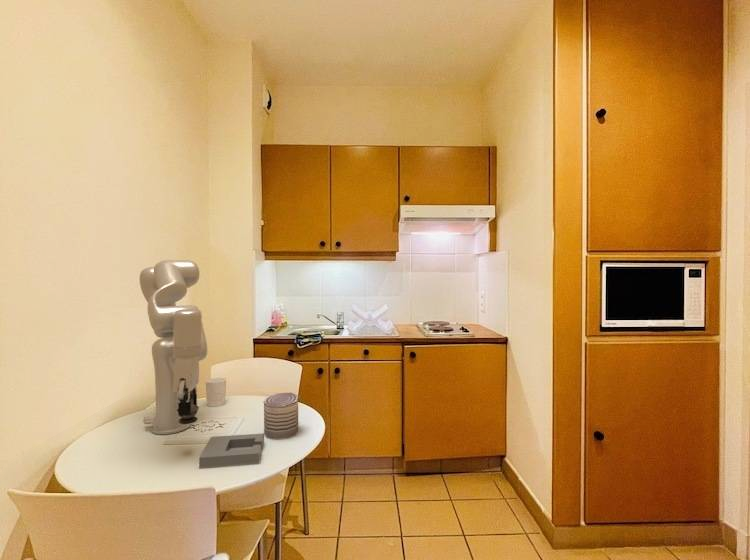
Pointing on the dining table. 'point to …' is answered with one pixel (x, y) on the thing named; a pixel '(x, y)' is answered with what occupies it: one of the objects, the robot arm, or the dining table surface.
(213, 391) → the white cup
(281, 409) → the can
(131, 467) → the dining table surface
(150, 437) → the dining table surface
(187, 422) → the dark chess piece
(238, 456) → the plate
